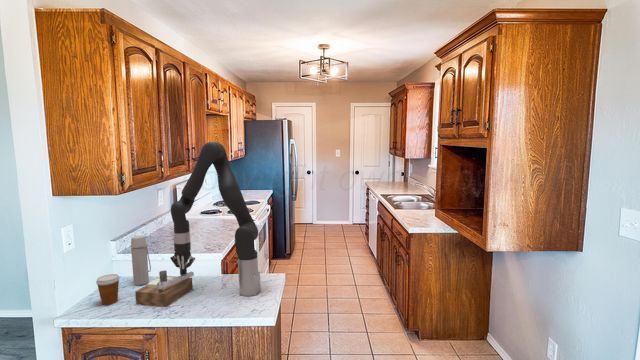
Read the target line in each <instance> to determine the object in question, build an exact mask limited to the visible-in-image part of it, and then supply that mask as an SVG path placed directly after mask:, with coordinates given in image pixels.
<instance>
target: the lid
mask: <svg viewBox="0 0 640 360" xmlns="http://www.w3.org/2000/svg"><path fill="white" fill-rule="evenodd" d="M167 273H168V272H167V270H160V271H159V272H158V274H159V277H158V278H156V279H154V280H152V281H149V282H148V283H146V285H147V287H152V288H157V283H159V282H165V281H168V280H170V279H173V278H175V277H176V276H172V277H167V276H168V275H167ZM174 284H175V283H174ZM172 285H173V284H172ZM170 286H171V285H169V286H167V287H164V288H165V289H166V288H168V287H170Z"/></svg>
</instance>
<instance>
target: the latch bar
mask: <svg viewBox="0 0 640 360" xmlns="http://www.w3.org/2000/svg"><path fill="white" fill-rule="evenodd" d="M193 276H195V273H194V271H187V273H186V274H183V275H178V276H174V277H175V278H173V279H170V280H168V281H165V282H159V283H157V289H162V288H164V287H167V286H169V285H172V284H174V283H177V282H179V281H182V280H184V279H187V278H193Z"/></svg>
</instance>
